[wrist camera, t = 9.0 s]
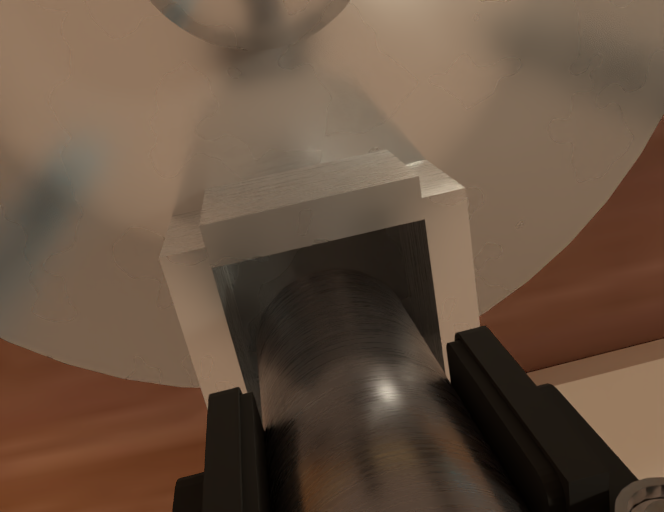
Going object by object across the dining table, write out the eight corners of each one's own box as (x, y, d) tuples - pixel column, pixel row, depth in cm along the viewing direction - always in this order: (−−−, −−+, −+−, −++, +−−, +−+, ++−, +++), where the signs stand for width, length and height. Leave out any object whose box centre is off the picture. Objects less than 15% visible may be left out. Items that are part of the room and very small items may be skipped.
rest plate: (761, 313, 25) (785, 327, 24) (740, 525, 30) (759, 544, 29) (488, 382, 25) (500, 399, 23) (509, 589, 29) (520, 612, 28)
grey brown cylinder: (396, 251, 14) (741, 723, 4) (417, 383, 15) (714, 955, 6) (239, 289, 13) (260, 873, 4) (275, 420, 15) (351, 1079, 6)
